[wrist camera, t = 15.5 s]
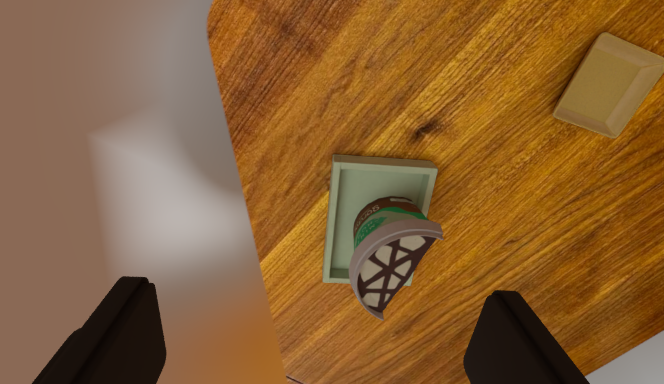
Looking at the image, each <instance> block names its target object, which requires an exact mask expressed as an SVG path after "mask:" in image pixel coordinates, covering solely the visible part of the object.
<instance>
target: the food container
mask: <svg viewBox="0 0 664 384" xmlns="http://www.w3.org/2000/svg"><path fill="white" fill-rule="evenodd" d="M442 235H443V232H442V229H441V225H440V224H438V223H436V222H433V221H429V220H428V219H427V218H426V217H425V215H424V214H423V213H422V212H421V211H420V209H419V208H418V207H417V206H416V205H415V203H414V202H413V201H412V200H410V199H407V198H405V197H397V196H388V197H383V198H378V199H376V200H374V201H373V202H371V203H369V204H367V205H366V206H365V207H364V208H363V209H362V210H361V211H360V212H359V214H358V215H357V217H356V219H355V222H354V227H353V238H354V253H353V255H352V258H351V261H350V265H349V279H350V283H351V286H352V288H353V290H354V293H355V295H356V297H357V299H358V300H359V302H360V303H361V304H362V306H364V308H365V309H366V310H367V311H368V312H369V313H371V314H372V315H374V316H375V317H377V318H379V319H381V320H384V319H383V310H384V309H385V308H386V306H387V305H388V303H389V302H390V300H391V299H392V298H393V296H394V295H395V294H396V293H397V292H398V291H399V289H400V288H401V287H402V286H403V285H404V284H405V283H406V282H407V281H408V279H409V278H410V277H411V275H412V273H413V272H414V270H415V268H416V267H417V265H418V263H419V262H420V260H421V259H422V257H423V256H424V254H425V253H426V252H427V250H428V249H429V248H430V246H431V245H432V244H433V242H434V241H435V240H436V238H438V239H441V240H444V239H443V237H442Z"/></svg>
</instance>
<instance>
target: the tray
mask: <svg viewBox="0 0 664 384" xmlns="http://www.w3.org/2000/svg"><path fill="white" fill-rule="evenodd" d="M437 171H438V168H437V167H436V166H435V165H434V164H433V163H432V161H427V160H412V159H398V158H383V157H368V156H353V155H338V154H333V158H332V169H331V180H330V191H329V202H328V213H327V224H326V235H325V246H324V257H323V268H322V274H323V282H326V283H328V282H329V283H350V279H349V265H350V261H351V258H352V255H353V253H354V238H353V227H354V222H355V219H356V217H357V215H358V214H359V212H360V211H361V210H362V209H363V208H364V207H365V206H366V205H367V204H369V203H371V202H373V201H374V200H376V199H378V198H383V197H388V196H397V197H405V198H407V199H410V200H412V201H413V202H414V203H415V205H416V206H417V207H418V208H419V209H420V211H421V212H422V213H423V214H424V215H425V217H426V218H427V214H428V210H429V205H430V201H431V197H432V193H433V188H434V184H435V180H436V176H437ZM413 273H414V272H413ZM413 273H412V275H411V277H410V278H409V279H408V281H407V282H406V283H405V284H404V285H405V286H411V282H412V277H413ZM404 285H403V286H404Z"/></svg>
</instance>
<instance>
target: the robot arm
mask: <svg viewBox="0 0 664 384" xmlns="http://www.w3.org/2000/svg"><path fill="white" fill-rule="evenodd" d="M165 360H166V347H165V341H164V335H163V330H162V324H161V318H160V312H159V307H158V300H157V295H156V289H155V285H154V284H153V283H149V281H148V279H147V278H146V277H126V276H123V277H121V278H120V279H119V280H118V281H117V282H116V284H115V285H114V286H113V287H112V289H111V290H110V291H109V293H108V294H107V295H106V296H105V298H104V299H103V300H102V302H101V303H100V304H99V306H98V307H97V308H96V309H95V311H94V312H93V313H92V315H91V316H90V317H89V319H88V320H87V321H86V322H85V324H84V325H83V327H82V328H79V329H78V330H76V331H74V332H73V333H72V334H71V335H70V336H69V337H68V338H67V340H66V341H65V342H64V343H63V345H62V346H61V347H60V349H59V350H58V351H57V352H56V354H55V355H54V356H53V357H52V359H51V360H50V361H49V363H48V364H47V365H46V366H45V368H44V369H43V370H42V371H41V373H40V374H39V375H38V376H37V378H36V379H35V380H34V382H33V383H32V384H156V383H157V381H158V378H159V376H160V374H161V371H162V369H163V367H164V364H165ZM463 363H464V369H465V372H466V374H467V376H468V378H469V381H470V383H471V384H590V383H589V382H588V381H587V379H586V378H585V377H584V376H583V374H582V373H581V372H580V370H579V369H578V368H577V367H576V365H575V364H574V363H573V361H572V360H571V359H570V358H569V356H568V355H567V354H566V352H565V351H564V350H563V349H562V347H561V346H560V345H559V344H558V342H557V341H556V340H555V338H554V337H553V336H552V335H551V333H550V332H549V331H548V329H547V328H546V327H545V326H544V324H543V323H542V322H541V320H540V319H539V318H538V317H537V315H536V314H535V313H534V312H533V310H532V309H531V308H530V306H529V305H528V304H527V303H526V301H525V300H524V299H523V297H522V296H521V295H520V294H519V293H518V292H516V291H503V290H495V291H494V292H493V293H492V295H489V296H488V297H487V298H486V301H485V303H484V306H483V309H482V311H481V314H480V316H479V319H478V322H477V324H476V327H475V329H474V332H473V335H472V337H471V340H470V342H469V345H468V348H467V350H466V353H465V355H464V360H463Z"/></svg>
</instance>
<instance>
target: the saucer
mask: <svg viewBox="0 0 664 384" xmlns="http://www.w3.org/2000/svg"><path fill="white" fill-rule="evenodd" d="M663 72H664V57H662V56H660V55H657V54H655V53H652V52H650V51H648V50H646V49H643V48H641V47H638V46H636V45H634V44H632V43H629V42H627V41H625V40H622V39H620V38H618V37H616V36H613V35H611V34H609V33H607V32H604V33H601V34H600V35H599V36H598V37H597V38H596V39H595V40H594V42H593V43H592V45H591V46H590V48H589V50H588V51H587V53H586V55H585V56H584V58H583V60H582V62H581V63H580V65H579V67H578V68H577V70H576V72H575V73H574V75H573V77H572V78H571V80H570V82H569V83H568V85H567V87H566V88H565V90H564V92H563V94H562V95H561V97H560V99H559V100H558V102H557V104H556V105H555V107H554V109H553V116H554V117H555V118H557V119H560V120H563V121H565V122H568V123H571V124H574V125H576V126H579V127H582V128H585V129H588V130H590V131H593V132H596V133H599V134H601V135H604V136H606V137H609V138H612V139H614V138H616V137H618V136H619V135H620V133H621V132H622V130H623V129H624V127H625V126H626V125H627V123H628V122H629V120H630V119H631V118H632V116H633V115H634V113H635V112H636V110H637V109H638V108H639V106H640V105H641V103H642V102H643V100H644V99H645V98H646V96H647V95H648V93H649V92H650V91H651V89H652V88H653V86H654V85H655V84H656V82H657V81H658V79H659V78H660V76H661V75H662V74H663Z"/></svg>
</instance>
